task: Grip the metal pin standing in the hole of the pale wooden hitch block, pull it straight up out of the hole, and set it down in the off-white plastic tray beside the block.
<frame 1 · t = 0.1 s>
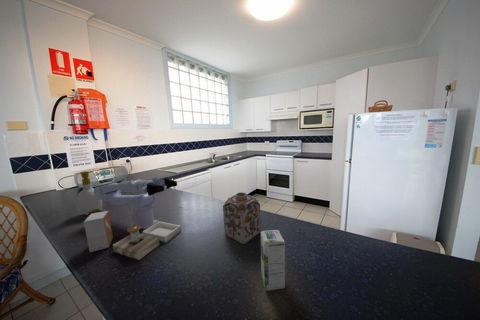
hand: (170, 185, 76), 22 cm above the countertop, tool horizontal, fingers open, 7 cm apart
tray: (162, 233, 77), on the countertop
pin: (135, 237, 67), in the hitch block
small box: (102, 245, 71), on the countertop
syrup box: (273, 281, 49), on the countertop
soap bottle: (93, 213, 103), on the countertop
hitch block: (137, 248, 68), on the countertop
decorative jar: (242, 233, 74), on the countertop
strawberry: (97, 225, 89), on the countertop
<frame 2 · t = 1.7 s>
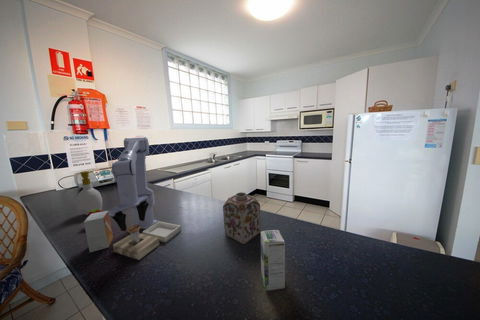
hand: (133, 225, 66), 10 cm above the countertop, tool pointing down, fingers open, 7 cm apart
nothing on the countertop moved.
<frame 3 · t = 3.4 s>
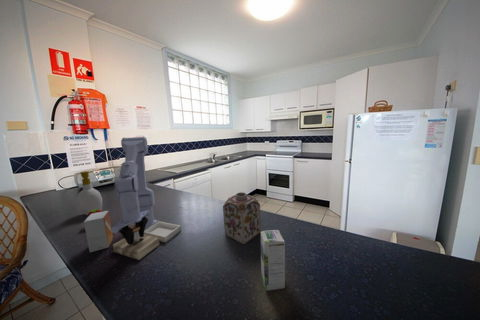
hand: (135, 239, 67), 4 cm above the countertop, tool pointing down, fingers closed on pin, 4 cm apart
pin: (135, 237, 67), in the hitch block, touching gripper
everything else where it was.
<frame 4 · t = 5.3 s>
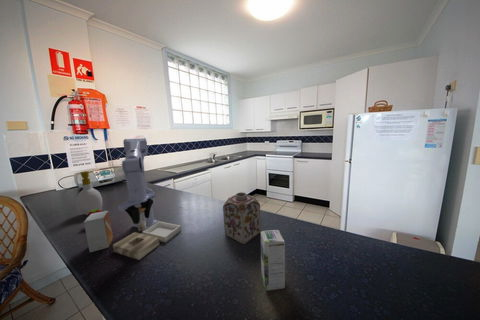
hand: (141, 220, 69), 10 cm above the countertop, tool pointing down, fingers closed on pin, 4 cm apart
pin: (141, 218, 69), point 11 cm above the countertop, touching gripper
everything else where it was.
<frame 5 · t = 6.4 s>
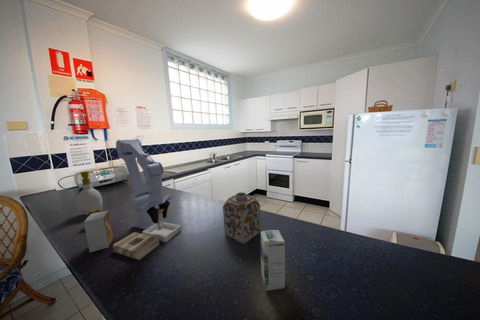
hand: (159, 220, 76), 7 cm above the countertop, tool pointing down, fingers closed on pin, 4 cm apart
pin: (159, 218, 75), point 8 cm above the countertop, touching gripper
everything else where it was.
when the fingers open (5 cm above the countertop, at t = 7.5 s): pin drops 1 cm, resting on tray.
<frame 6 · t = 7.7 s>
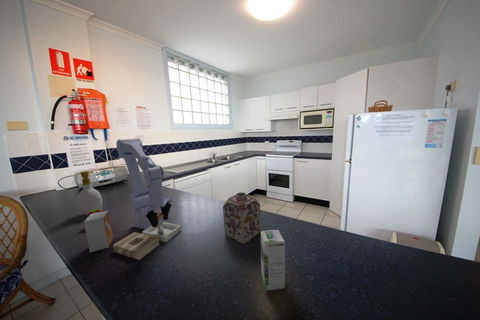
hand: (160, 223, 76), 5 cm above the countertop, tool pointing down, fingers open, 6 cm apart
pin: (159, 224, 75), in the tray, point 5 cm above the countertop
everything else where it was.
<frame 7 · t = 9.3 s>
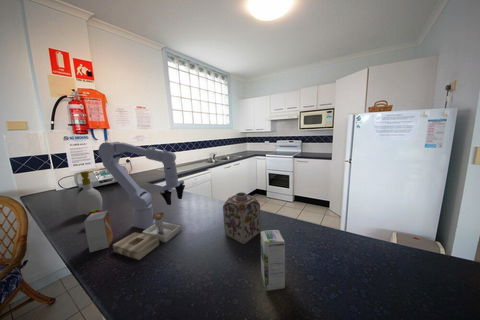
hand: (174, 201, 87), 10 cm above the countertop, tool pointing down, fingers open, 7 cm apart
nothing on the countertop moved.
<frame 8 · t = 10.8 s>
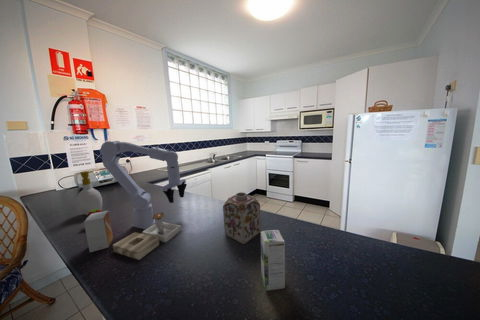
hand: (176, 199, 89), 10 cm above the countertop, tool pointing down, fingers open, 7 cm apart
nothing on the countertop moved.
at the end: pin inside the target area on the tray (1.0 cm from its centre), point 5.1 cm above the tray's base; pin moved 10.2 cm from its start; the gripper is holding nothing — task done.
